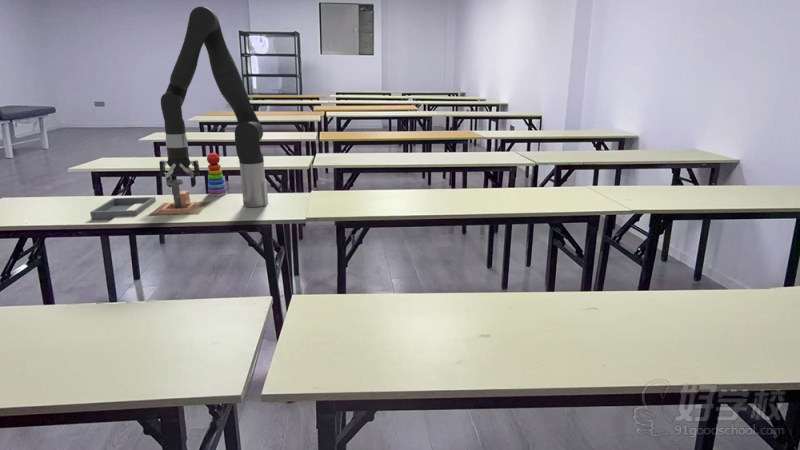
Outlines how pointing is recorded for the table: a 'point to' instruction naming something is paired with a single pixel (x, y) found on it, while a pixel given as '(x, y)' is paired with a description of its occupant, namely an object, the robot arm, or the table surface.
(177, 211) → the tan piece
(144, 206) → the tray
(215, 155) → the stacking toy
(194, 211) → the stake board
